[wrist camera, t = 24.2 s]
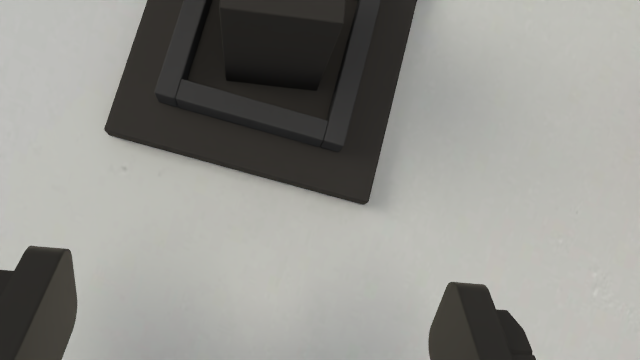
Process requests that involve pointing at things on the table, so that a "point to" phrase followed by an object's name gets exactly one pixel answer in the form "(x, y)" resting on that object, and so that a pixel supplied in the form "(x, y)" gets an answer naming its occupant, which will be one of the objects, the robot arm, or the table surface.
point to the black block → (279, 40)
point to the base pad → (264, 98)
